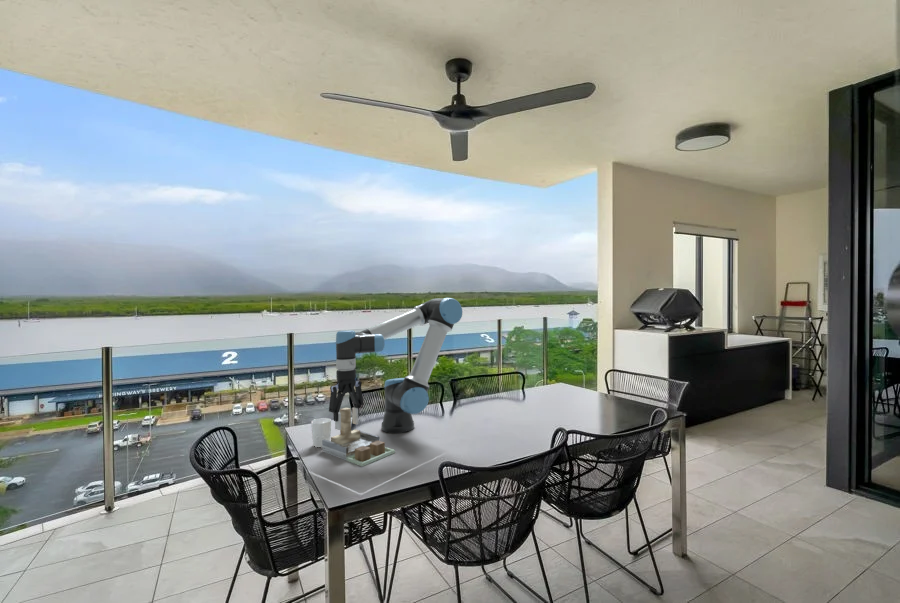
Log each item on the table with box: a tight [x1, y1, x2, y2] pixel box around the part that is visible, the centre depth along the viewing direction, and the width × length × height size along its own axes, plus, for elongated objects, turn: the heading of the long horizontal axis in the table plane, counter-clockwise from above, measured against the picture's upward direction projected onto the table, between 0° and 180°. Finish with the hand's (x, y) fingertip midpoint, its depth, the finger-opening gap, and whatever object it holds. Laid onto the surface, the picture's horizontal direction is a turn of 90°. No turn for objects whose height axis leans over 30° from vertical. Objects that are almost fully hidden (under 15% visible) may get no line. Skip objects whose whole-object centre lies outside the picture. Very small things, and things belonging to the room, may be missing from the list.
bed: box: [321, 430, 380, 461], centre depth 155 cm, size 16×15×5 cm
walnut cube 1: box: [355, 446, 371, 462], centre depth 145 cm, size 4×4×4 cm
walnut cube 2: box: [370, 440, 386, 456], centre depth 151 cm, size 4×4×4 cm
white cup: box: [310, 417, 332, 448], centre depth 162 cm, size 8×8×10 cm
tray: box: [345, 446, 396, 467], centre depth 148 cm, size 16×9×2 cm, turn 142°
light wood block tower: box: [330, 407, 361, 445], centre depth 157 cm, size 12×3×13 cm, turn 142°
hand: (346, 426), depth 157 cm, fingers open, 8 cm apart
